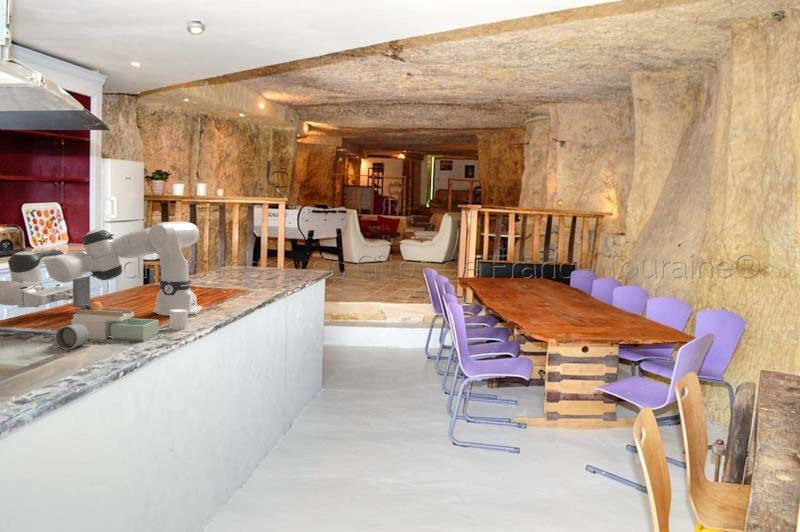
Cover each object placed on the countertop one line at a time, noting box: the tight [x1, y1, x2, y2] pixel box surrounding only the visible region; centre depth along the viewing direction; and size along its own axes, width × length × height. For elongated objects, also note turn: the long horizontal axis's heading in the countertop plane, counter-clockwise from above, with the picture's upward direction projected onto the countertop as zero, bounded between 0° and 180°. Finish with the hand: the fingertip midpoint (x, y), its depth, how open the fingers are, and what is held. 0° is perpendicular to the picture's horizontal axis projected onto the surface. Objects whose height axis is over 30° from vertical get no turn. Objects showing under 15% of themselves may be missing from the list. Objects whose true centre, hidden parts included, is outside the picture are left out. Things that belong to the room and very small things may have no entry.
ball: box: [90, 301, 103, 310], centre depth 229 cm, size 4×4×4 cm
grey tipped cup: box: [51, 324, 89, 351], centre depth 212 cm, size 11×8×8 cm
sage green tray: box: [110, 317, 160, 343], centre depth 229 cm, size 12×12×6 cm
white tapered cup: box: [169, 309, 188, 331], centre depth 246 cm, size 7×7×7 cm
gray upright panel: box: [72, 276, 92, 310], centre depth 229 cm, size 8×4×12 cm, turn 175°
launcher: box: [71, 306, 135, 341], centre depth 229 cm, size 12×17×10 cm
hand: (70, 297), depth 228 cm, fingers closed
